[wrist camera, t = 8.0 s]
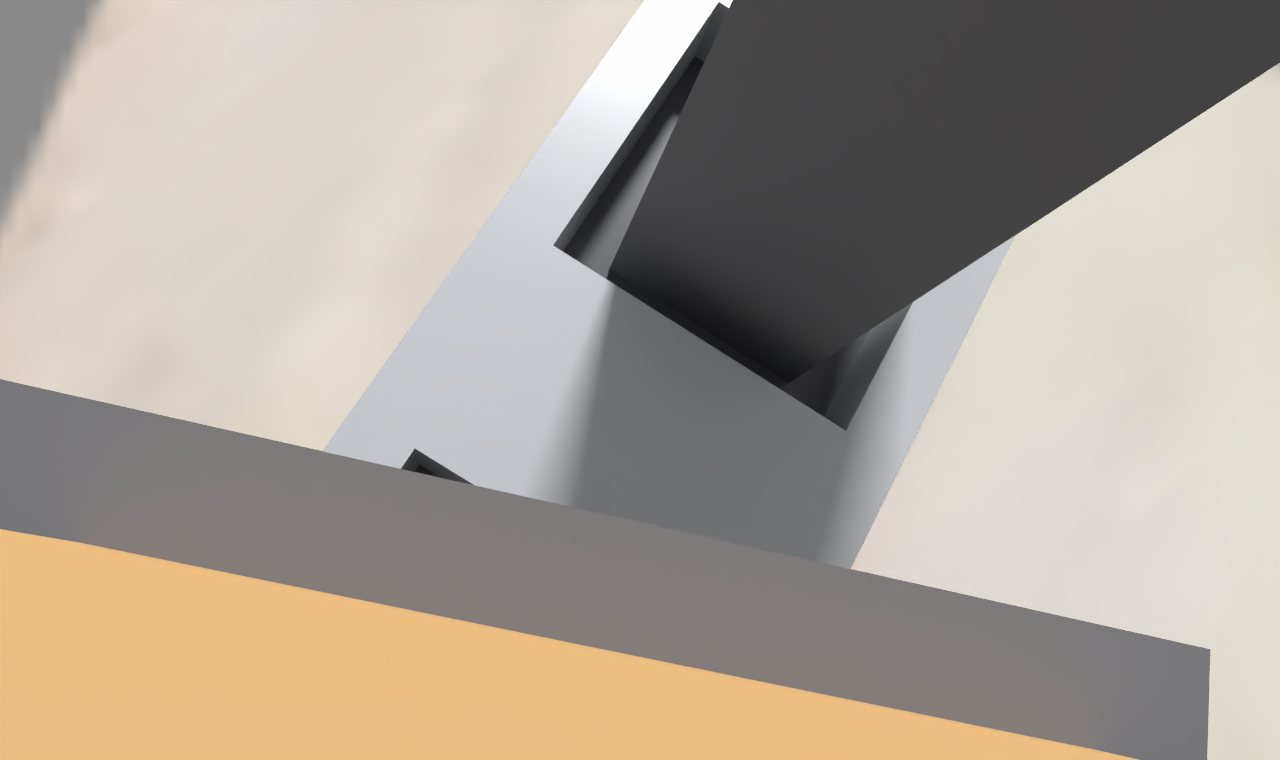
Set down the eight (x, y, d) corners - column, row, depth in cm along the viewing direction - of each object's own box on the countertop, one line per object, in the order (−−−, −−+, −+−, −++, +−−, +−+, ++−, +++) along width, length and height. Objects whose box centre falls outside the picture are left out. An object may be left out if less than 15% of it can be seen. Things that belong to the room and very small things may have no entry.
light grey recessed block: (499, 1162, 16) (508, 1261, 13) (42, 894, 16) (-33, 948, 13) (996, 191, 22) (1060, 142, 20) (680, -14, 22) (708, -89, 20)
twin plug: (789, 383, 20) (1468, -62, 6) (609, 268, 19) (928, -428, 6) (878, 220, 21) (1596, -425, 8) (710, 112, 21) (1155, -738, 8)
